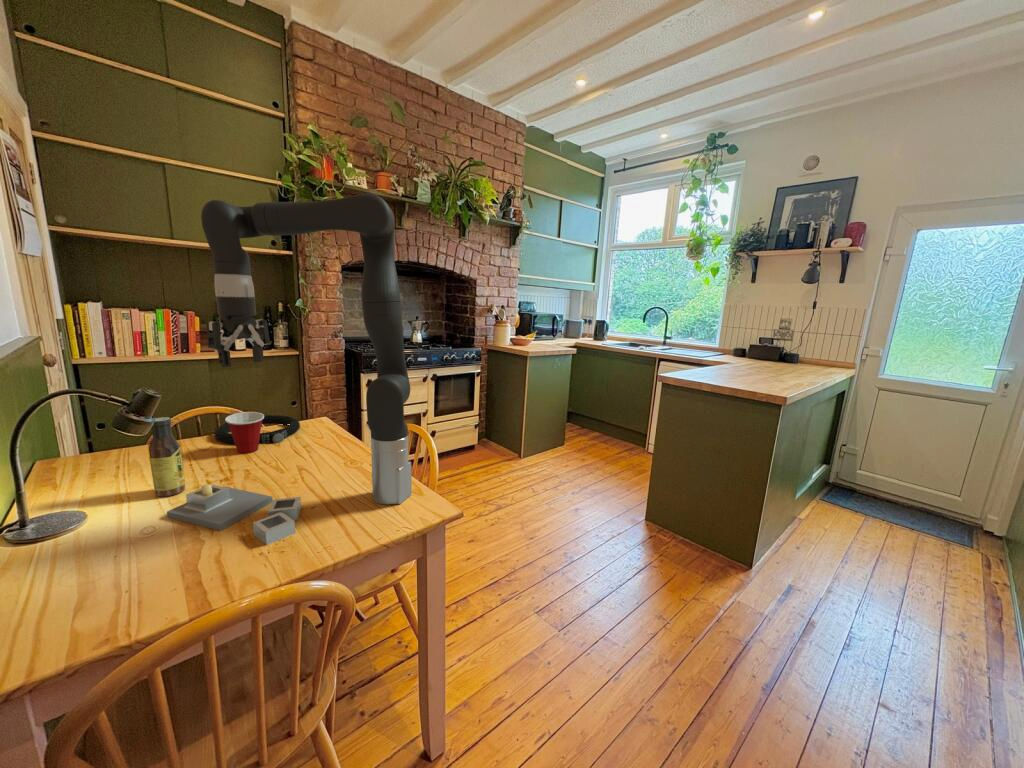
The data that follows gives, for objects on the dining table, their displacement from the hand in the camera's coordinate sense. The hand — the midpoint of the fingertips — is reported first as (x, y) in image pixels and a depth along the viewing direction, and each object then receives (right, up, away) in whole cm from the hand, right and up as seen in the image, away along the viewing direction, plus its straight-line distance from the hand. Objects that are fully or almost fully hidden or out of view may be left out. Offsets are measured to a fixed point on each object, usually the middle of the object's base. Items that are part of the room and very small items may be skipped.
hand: (243, 364), depth 98 cm
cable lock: (-30, -24, +55) cm, 67 cm away
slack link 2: (+12, -38, -7) cm, 41 cm away
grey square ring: (-9, -34, +1) cm, 35 cm away
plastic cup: (-24, -27, +38) cm, 52 cm away
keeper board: (-6, -35, +2) cm, 36 cm away
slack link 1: (+10, -36, 0) cm, 38 cm away
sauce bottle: (-25, -33, +9) cm, 42 cm away
